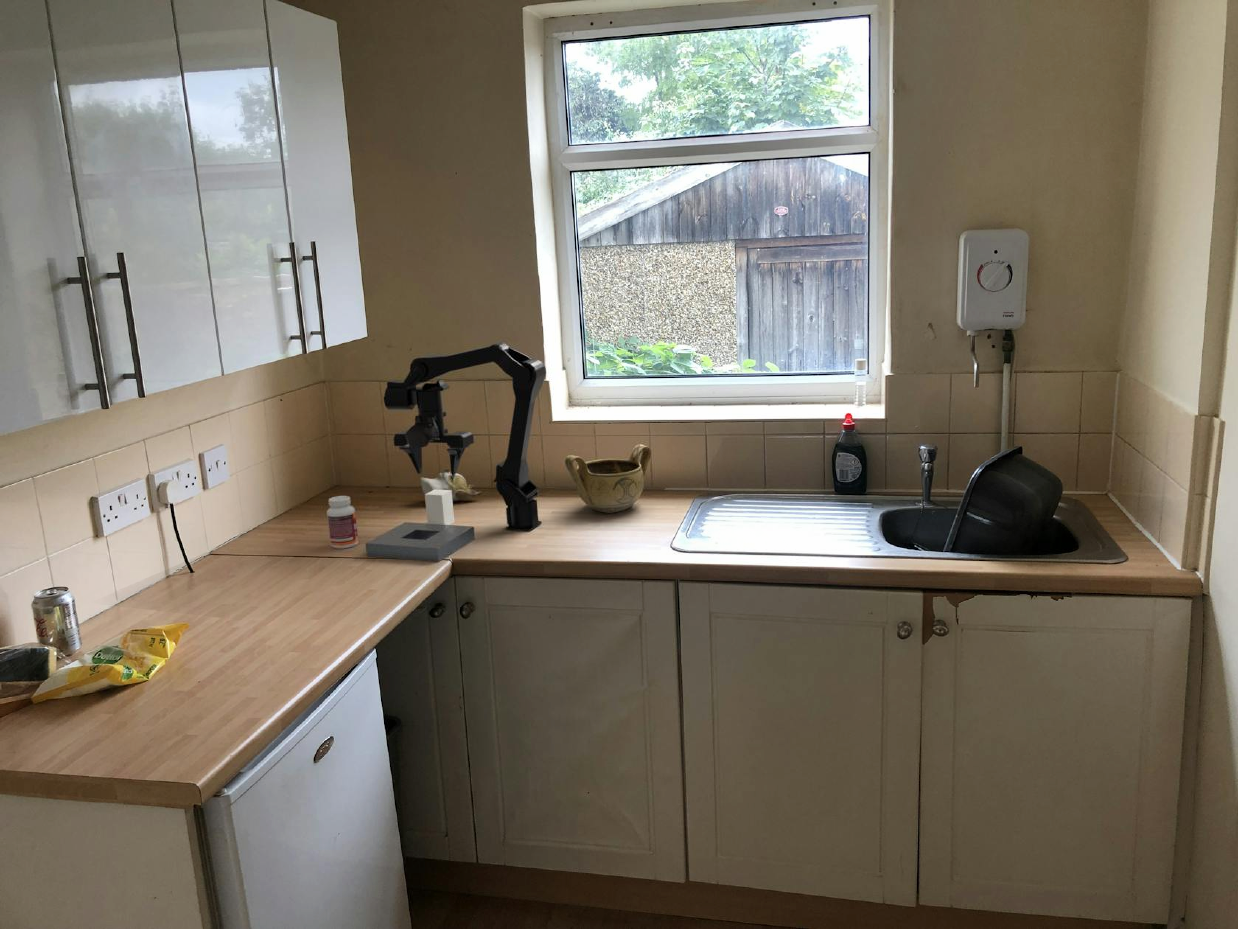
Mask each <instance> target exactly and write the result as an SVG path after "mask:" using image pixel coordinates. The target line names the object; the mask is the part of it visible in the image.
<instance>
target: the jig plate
mask: <svg viewBox="0 0 1238 929" xmlns="http://www.w3.org/2000/svg"><path fill="white" fill-rule="evenodd" d="M475 539H476V536H475V526H473V525H472V526H471V525H455V524H451V525H442V524H428V523H426V522H424V523H421V522H411V521H408V522H407V521H405V522H403V523H402V524H399V525H397V526H395V527H394V528H391V529H390V530H388V531H385V532H384V533H382V534H380V535H378V536H376V537H374V538H373V539H371V540H368V541H367V542H365V551H366V557H370V558H371V557H372V558H383V559H395V558H396V559H397V560H410V561H421V562H433V561H434V562H435V561H436V563H440V562H441V561H442V560H444V559H445V558H448V557H449V556H451V555H452V554H454V553H455V552H457V551H459V550H460V549H462V548H463V547H466V545H468V544H469V543H471V542H473V541H475Z"/></svg>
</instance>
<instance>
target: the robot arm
mask: <svg viewBox="0 0 1238 929" xmlns="http://www.w3.org/2000/svg"><path fill="white" fill-rule="evenodd" d="M490 363H494V364H496V365H497V366H498V368H500V369H501V370H502V371H503V372H504V373H505V374H506V375H507V376H509V377H511V379H512V382H511V383H512V384H511V385H512V391H513V395H514V399H515V400H514V406H513V412H512V413H513V414H512V419H511V420H512V421H511V427H510V432H509V440H508V447H507V453H506V458H505V459H504V460H503V461H501V462H500V463H497V465H496V466H495V478H494V479H493V483H495V488H496V491H497V492H498V494H499V495H501V497H502V499H503V501H504V504H505V506H506V508H505V516H506V525H507V526H505V530H511V531H512V530H513V531H527V532H529V531H530V532H531V531H532V530H534V529H537V527H538V526H541V525H542V524H543V523H542V521H541V520H539V513H538V511H539V510H538V500H537V499H536V498H537V497H538V496H539V495H538V494H539V492H540V488H539V487H538V486H537V485H536V484H535V483H534V482H533V481H531V479H530V470H529V464H528V461H527V456H528V455H527V454H528V448H529V443H530V442H529V441H530V435H531V428H532V422H533V415H534V409H535V402H536V399H537V397H538V395H539V393H540V391H541V389H542V386H543V383H544V380H545V378H546V375H547V369H546V366H545V365H544V363H543V362H542V361H540V360H539V359H537V358H531V357H530V356H528V355H526V354H524V353H522V352H520V351H518V350H517V349H514V348H512V347H511V346H509V345H507V344H506V343H504V342H497V343H494V344H491V345H488V346H485V347H484V346H483V347H480V348H474V349H470V350H466V351H460V352H456V353H453V354H450V353H449V354H445V353H437V354H433V353H432V354H426V355H423V356H419V357H417V358H415V359H412V361H411V363H410V364H409V372H408V374H407V375H406V377H405V379H404V380H403V381H401V380H399V381H398V380H389V381H387V382H386V387H385V390H384V396H383V402H384V405H385V406H384V407H385V408H386V410H390V411H400V410H401V411H404V410H405V411H409V410H410V411H412V410H414V408H415V407H416V406H417V415H415V417H414V425H412V426H411V427H410V428H408V429H405V430H402V431H400V432H396V433H394V436H393V438H392V441H393V446H394V447H398V449H399V450H402V451H403V452H405V453H406V454H407V455H408V457H409V459H410V461H411V462H412V465H413V467H414V470H415V471H416V474H417V475H421V474H422V472H423V452H422V450H423V448H425V447H427V446H428V445H429V443H430V444H431V443H433V444H446V445H447V446H448V448H446V451H447V452H448V454H449V461H450V473H452V475H455V474H456V473H457V471H458V469H459V468H458V467H459V465H460V462H461V458H462V456H463V454H464V452H465V450H466V448H469V447H470V445H472V444H474V443H475V439H474V435H473V433H472V432H471V431H464V430H463V431H462V430H461V431H459V430H458V431H455V432H452V433H450V434H449V433H448V432H449V431H448V428H445V421H444V420H445V419H444V417H447V411H444V408H443V398H442V392H443V391H444V392H445V391H446V390H449V389H450V386H449V385H448V384H447V383H446V382H445V381H443V379H439V380H436V382H429V381H432V380H435V379H438V378H439V377H442V376H444V375H446V374H449V373H451V372H453V371H457V370H462V369H466V368H471V367H476V366H480V365H481V366H482V365H485V364H490ZM420 384H423V385H422V386H418V385H420Z"/></svg>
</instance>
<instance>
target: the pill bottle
mask: <svg viewBox="0 0 1238 929" xmlns="http://www.w3.org/2000/svg"><path fill="white" fill-rule="evenodd" d="M328 505H329V507H330V508H328V509H327V511H326V517H327V525H328V533H329V541H330V547H331V548H333V549H340V550H341V549H349V548H352V547H355V546H357V545H358V544H359V535H358V534H359V533H358V526H357V518H356V516H357V515H356V509H355V507H354V506H353V505H351V497H350V496H349V495H338V496H332V497H330V498H328Z"/></svg>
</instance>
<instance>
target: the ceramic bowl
mask: <svg viewBox="0 0 1238 929" xmlns="http://www.w3.org/2000/svg"><path fill="white" fill-rule="evenodd" d="M640 455H641V456H640ZM651 456H652V450H651V448H650V447H649V446H647V445H644V444H641V443H639V444H637V445H635V446H634V447H633V449H632V451H631V453H630V457H629V459H626V458H625V459H624V458H603V459H602V458H601V459H594V460H589V461H585V460H584V459H583V458H581V456H578V455H574V454H573V455H572V454H570V455H566V457H565V460H564V463H565V467H566V469H567V471H568V472H569V475H570V476H571V478H572V480H573V482H574V484H575V488H576V492H577V494H578V496H579V498H580V499H581V500H582V501H583V503H584V504H585V505H587V506H588V507H590V509H591V508H592V509H593V510H595V511H598V512H602V513H608V514H610V513H619V512H622V511H624V510H626V509H628V508H631V507H632V506H634V504H635V503H636V502H637V501H638V500H639V498H640V496H641V494H642V492H643V490H644V484H645V481H644V480H645V476H646V473H647V469H648V466H649V462H650V459H651ZM574 461H575V462H576V463H577V466H576V468H575V466H574Z"/></svg>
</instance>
